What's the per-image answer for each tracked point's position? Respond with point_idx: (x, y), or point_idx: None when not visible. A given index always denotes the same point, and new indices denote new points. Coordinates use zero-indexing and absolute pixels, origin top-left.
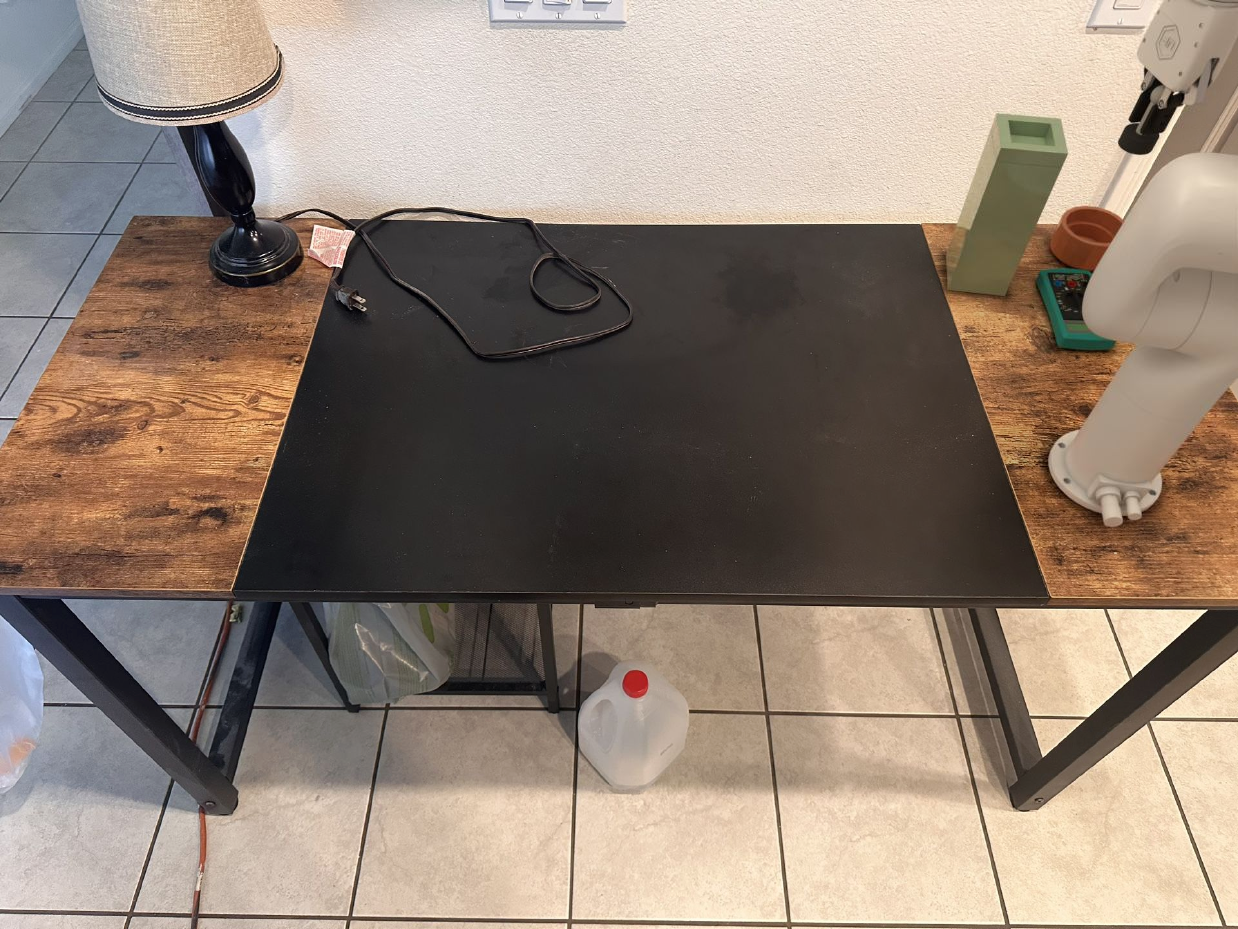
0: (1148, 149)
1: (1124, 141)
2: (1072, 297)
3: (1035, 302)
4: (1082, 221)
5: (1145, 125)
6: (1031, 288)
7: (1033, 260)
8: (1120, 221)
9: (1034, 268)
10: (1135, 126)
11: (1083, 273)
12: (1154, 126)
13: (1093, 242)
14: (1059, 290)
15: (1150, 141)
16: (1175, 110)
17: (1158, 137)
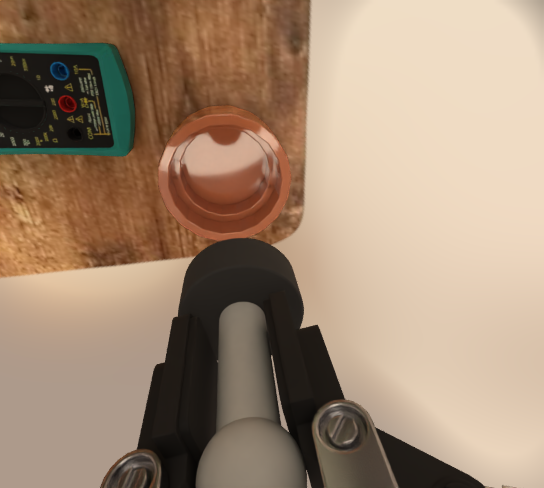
0: None
1: (218, 255)
2: (38, 99)
3: (48, 30)
4: (275, 173)
5: (168, 344)
6: (96, 33)
7: (192, 63)
8: (243, 231)
9: (166, 58)
10: None
11: (112, 137)
12: (156, 374)
13: (166, 165)
14: (36, 69)
15: None
16: None
17: None
